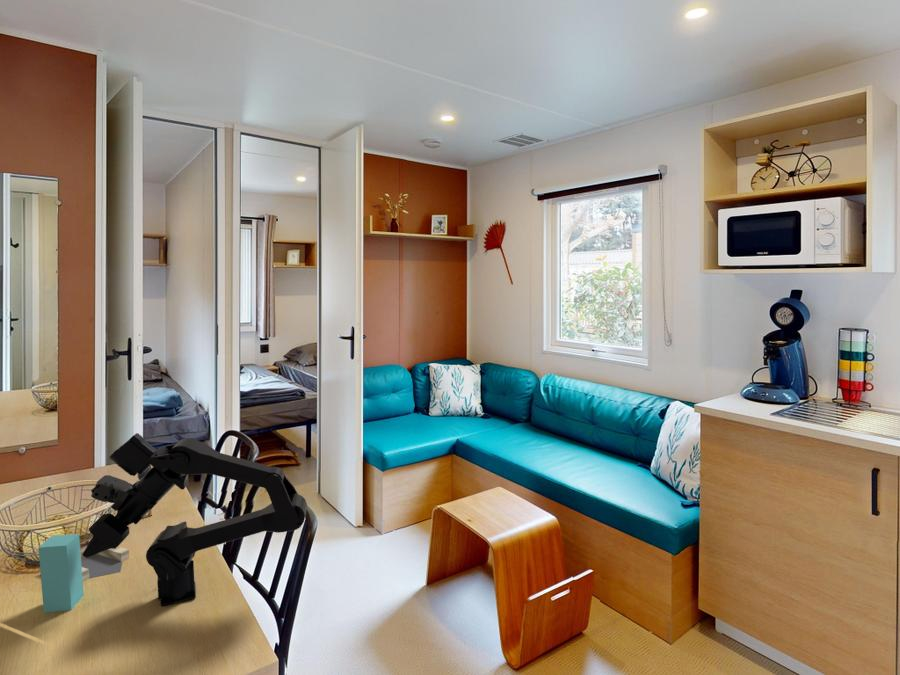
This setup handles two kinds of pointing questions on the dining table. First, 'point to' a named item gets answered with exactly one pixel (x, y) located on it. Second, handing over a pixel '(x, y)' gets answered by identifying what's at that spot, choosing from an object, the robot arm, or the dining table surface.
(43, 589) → the teal post
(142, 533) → the dining table surface
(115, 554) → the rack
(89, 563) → the mat
